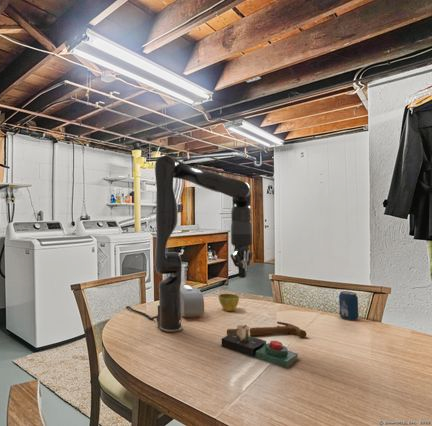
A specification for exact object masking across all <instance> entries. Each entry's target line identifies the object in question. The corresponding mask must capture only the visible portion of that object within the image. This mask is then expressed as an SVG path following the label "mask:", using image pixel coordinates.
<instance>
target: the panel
mask: <svg viewBox="0 0 432 426" xmlns="http://www.w3.org/2000/svg"><path fill="white" fill-rule="evenodd" d="M266 344H267V340H264V339H262V338H257V337H255V336H250V341H249V342H242V341H239V340H238V339H237V332H234V333H232V334H230V335H228V336H227V335H225V336H223V337H222V338H221V347H222V348H225V349H227V350H228V349H229V350H231V351H234V352H236V353H240V354H243V355H245V356H249V357H252V358H256V351H257V350H259V349H260V348H262V347H263V346H265V345H266Z"/></svg>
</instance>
